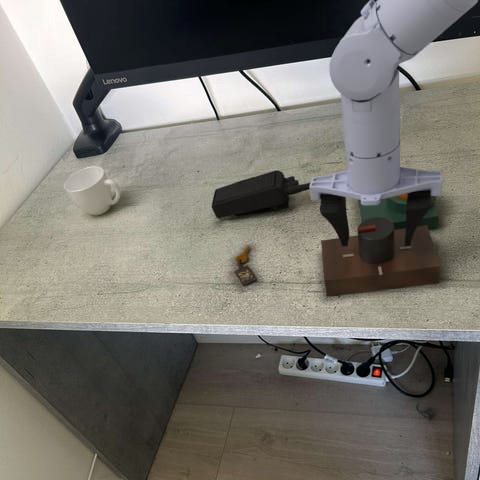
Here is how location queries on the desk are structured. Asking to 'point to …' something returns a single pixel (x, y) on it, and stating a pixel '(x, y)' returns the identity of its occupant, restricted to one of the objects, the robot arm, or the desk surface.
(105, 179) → the cup
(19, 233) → the desk surface
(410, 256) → the lock panel
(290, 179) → the walkie-talkie
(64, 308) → the desk surface
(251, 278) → the key tag
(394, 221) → the button block
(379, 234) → the knob
